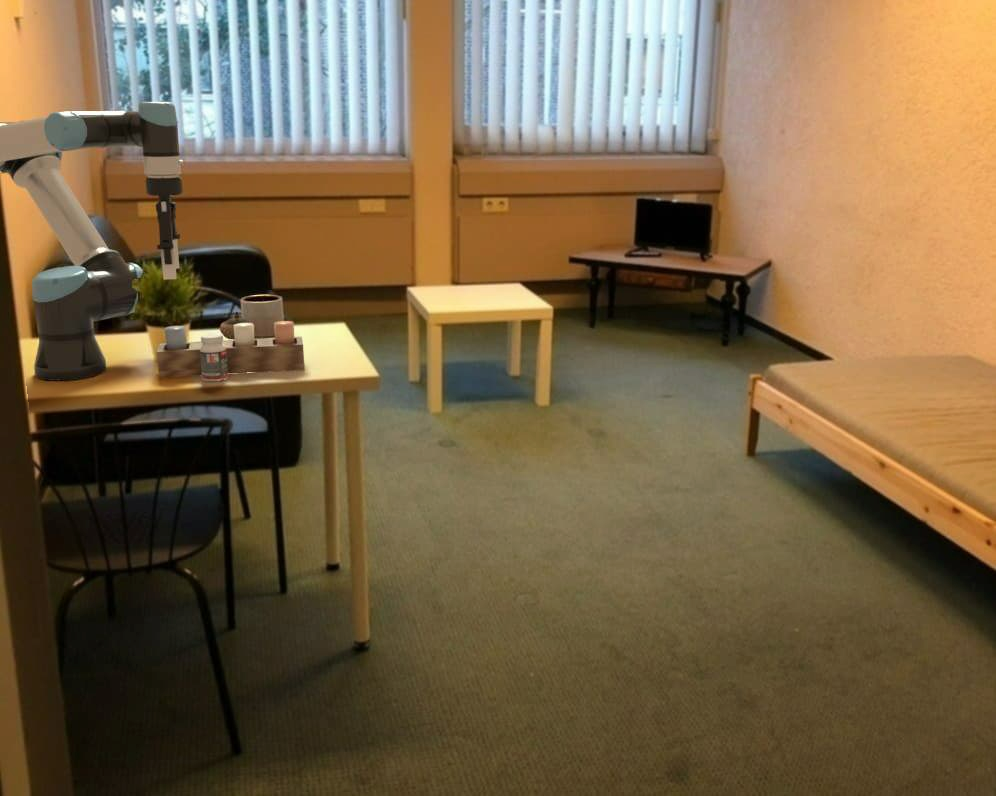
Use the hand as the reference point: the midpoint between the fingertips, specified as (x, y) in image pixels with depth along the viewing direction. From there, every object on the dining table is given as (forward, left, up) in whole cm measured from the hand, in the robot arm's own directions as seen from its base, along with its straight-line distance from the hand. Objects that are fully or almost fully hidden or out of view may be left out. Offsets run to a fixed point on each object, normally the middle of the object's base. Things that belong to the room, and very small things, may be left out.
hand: (171, 273), depth 224 cm
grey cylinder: (0, -1, -18) cm, 18 cm away
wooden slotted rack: (+12, -1, -23) cm, 25 cm away
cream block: (+15, -1, -18) cm, 23 cm away
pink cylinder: (+24, -1, -18) cm, 30 cm away
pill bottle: (+8, -8, -23) cm, 25 cm away
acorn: (+13, +17, -23) cm, 31 cm away
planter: (+19, +35, -23) cm, 46 cm away
